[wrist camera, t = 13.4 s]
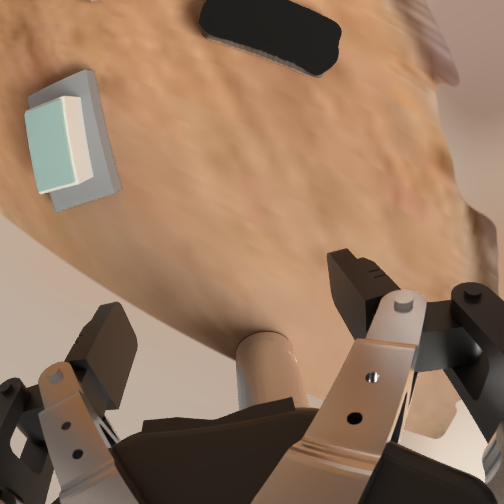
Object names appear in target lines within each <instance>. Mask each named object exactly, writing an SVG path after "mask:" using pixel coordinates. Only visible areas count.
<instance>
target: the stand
mask: <svg viewBox="0 0 504 504" xmlns="http://www.w3.org/2000/svg"><path fill="white" fill-rule="evenodd" d="M62 96H74V97H81V104H82V112H83V119H84V126H85V132H86V138H87V144H88V150H89V155H90V161H91V166H92V171H93V176H94V177H92V178H90V179H88V180H86V181H84V182H82V183H80V184H78V185H74V186H70V187H66V188H62V189H59V190H55V191H51V192H50V196H51V199H52V202H53V205H54V208H55V211H56V213H57V212H59V211H62V210H65V209H68V208H71V207H74V206H78V205H81V204H84V203H87V202H90V201H93V200H96V199H100V198H103V197H106V196H110V195H113V194H115V193H117V192H118V191H120V190H121V189H122V186H121V183H120V179H119V176H118V172H117V168H116V164H115V160H114V157H113V153H112V149H111V145H110V141H109V136H108V132H107V128H106V124H105V119H104V115H103V110H102V105H101V101H100V96H99V91H98V85H97V80H96V75H95V72H94V71H90V70H87V69H85V70H82V71H80V72H78V73H75V74H73V75H71V76H69V77H66V78H64V79H62V80H60V81H58V82H56V83H54V84H52V85H49V86H47V87H45V88H43V89H41V90H40V91H38V92H36V93H34V94H32V95H30V96H28V97H27V99H28V105H29V109H31V108H34V107H36V106H38V105H41V104H43V103H46V102H49V101H51V100H54V99H56V98H59V97H62Z"/></svg>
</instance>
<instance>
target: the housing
mask: <svg viewBox="0 0 504 504" xmlns="http://www.w3.org/2000/svg"><path fill="white" fill-rule="evenodd" d="M24 116H25V124H26V131H27V138H28V144H29V150H30V155H31V161H32V166H33V171H34V176H35V180H36V185H37V189H38V192H40V195H41V194H44V193H48V192H51V191H55V190H59V189H62V188H66V187H70V186H74V185H78V184H80V183H82V182H84V181H86V180H88V179H90V178H92V177H94V176H93V171H92V166H91V161H90V155H89V150H88V144H87V138H86V132H85V126H84V119H83V112H82V104H81V97H74V96H62V97H59V98H56V99H54V100H51V101H49V102H46V103H43V104H41V105H38V106H36V107H34V108H31V109H29V110H26V111H25V113H24Z"/></svg>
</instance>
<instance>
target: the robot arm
mask: <svg viewBox="0 0 504 504" xmlns="http://www.w3.org/2000/svg"><path fill="white" fill-rule="evenodd" d="M327 263H328V271H329V278H330V286H331V293H332V298H333V301H334V304H335V306H336V308H337V310H338V312H339V313H340V315H341V317H342V318H343V320H344V322H345V324H346V326H347V327H348V329H349V331H350V333H351V334H352V336H353V338H354V340H355V342H354V344H353V346H352V348H351V350H350V352H349V354H348V356H347V358H346V360H345V362H344V364H343V366H342V368H341V370H340V372H339V374H338V376H337V378H336V380H335V382H334V383H333V385H332V387H331V389H330V391H329V393H328V395H327V396H326V398H325V400H324V402H323V404H322V406H321V407H320V409H317V408H309V404H308V401H307V397H306V393H305V390H304V386H303V383H302V379H301V376H300V372H299V368H298V365H297V361H296V358H295V354H294V351H293V347H292V345H291V342H290V341H289V340H288V339H287V338H286V337H284V336H283V335H281V334H278V333H275V332H259V333H256V334H253V335H251V336H249V337H247V338H245V339H244V340H243V341H242V342H241V343H240V344H239V346H238V348H237V350H236V370H237V387H238V401H239V411H237V412H235V413H232V414H229V415H227V416H224V417H221V418H219V419H215V420H205V419H192V418H179V417H175V418H165V419H156V420H144V422H143V427H142V432H139V433H136V434H133V435H131V436H129V437H127V438H125V439H124V440H122V441H121V440H120V438H119V436H118V435H117V433H116V431H115V430H114V428H113V426H112V425H111V423H110V421H109V420H108V418H107V417H106V416H105V414H104V413H105V410H114V409H119V406H120V403H121V399H122V396H123V392H124V389H125V386H126V383H127V380H128V376H129V373H130V370H131V367H132V364H133V360H134V357H135V354H136V351H137V338H136V335H135V333H134V331H133V329H132V327H131V324H130V322H129V320H128V318H127V316H126V313H125V311H124V309H123V307H122V305H121V304H120V303H119V302H113V303H109V304H105V305H101V306H99V308H98V310H97V311H96V313H95V315H94V316H93V318H92V320H91V321H90V322H89V323H88V324H87V325H85V326H84V327H83V329H82V331H81V333H80V334H79V337H78V338H77V339H76V341H75V344H74V345H73V346H72V348H71V350H70V352H69V354H68V355H67V357H66V359H65V361H64V362H58V363H55V364H53V365H51V366H49V367H48V368H47V369H45V370H44V371H43V373H42V374H41V375H40V377H39V380H38V384H37V385H34V386H31V387H28V388H26V387H25V385H24V384H23V382H22V381H21V380H20V379H19V378H11V379H8V380H7V381H5V382H3V383H2V384H1V385H0V504H45V501H46V498H47V493H48V489H49V485H50V482H51V478H52V474H53V470H55V473H56V475H57V478H58V481H59V484H60V486H61V492H60V494H59V497H58V498H57V499H56V500H55V501H54V502H53V503H52V504H504V301H503V300H502V299H501V298H500V297H499V296H497V295H496V294H495V293H494V292H493V291H492V290H491V289H489V288H488V287H487V286H485V285H483V284H479V283H475V282H466V283H461V284H459V285H457V286H455V287H454V288H453V290H452V292H451V300H447V301H439V302H427V301H426V299H425V297H424V296H423V295H422V294H420V293H418V292H416V291H412V290H401V289H400V288H399V287H398V286H397V285H396V284H395V283H394V282H393V281H392V279H391V278H390V277H389V276H388V275H386V273H385V272H384V271H383V270H382V269H380V267H379V266H378V265H377V264H376V263H375V262H373V261H371V260H368V259H366V258H359V259H357V258H356V257H355V256H354V255H353V254H352V253H351V252H350V251H349V250H348V249H347V248H346V249H342V250H338V251H334V252H330V253H327ZM440 369H443V371H444V372H445V374H446V375H447V377H448V378H449V380H450V381H451V383H452V384H453V386H454V388H455V389H456V391H457V392H458V394H459V396H460V397H461V399H462V400H463V402H464V403H465V405H466V407H467V409H468V410H469V412H470V414H471V415H472V417H473V419H474V420H475V422H476V424H477V425H478V427H479V429H480V431H481V432H482V434H483V436H484V437H485V439H486V441H487V443H488V445H487V447H486V448H485V451H484V453H483V457H482V463H483V467H484V471H485V476H486V477H485V483H484V482H483V481H481V480H480V479H478V478H477V477H475V476H473V475H471V474H469V473H466V472H463V471H461V470H458V469H456V468H453V467H450V466H448V465H445V464H443V463H440V462H438V461H436V460H433V459H431V458H428V457H426V456H424V455H421V454H419V453H417V452H415V451H412V450H410V449H408V448H406V447H404V446H402V445H399V443H400V440H401V436H402V433H403V430H404V426H405V422H406V418H407V415H408V412H409V408H410V405H411V401H412V398H413V394H414V390H415V387H416V383H417V379H418V375H419V372H424V371H432V370H440ZM16 426H17V427H18V429H19V430H20V431H21V432H22V433H23V434H24V435H25V436H26V437H27V441H26V444H25V446H24V449H23V452H22V454H21V457H20V459H19V458H18V457H17V456H16V455H15V454H14V453H13V452H12V450H11V447H10V439H11V437H12V434H13V432H14V430H15V428H16Z"/></svg>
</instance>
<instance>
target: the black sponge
mask: <svg viewBox="0 0 504 504" xmlns="http://www.w3.org/2000/svg"><path fill="white" fill-rule="evenodd" d="M199 24H200V29H201V31H202V33H203V35H204V37H205V38H207V39H208V40H212V41H214V42H218V43H221V44H224V45H227V46H230V47H234V48H236V49H239V50H242V51H245V52H249V53H251V54H254V55H257V56H260V57H262V58H265V59H267V60H270V61H272V62H275V63H277V64H280V65H282V66H285V67H287V68H291V69H293V70H295V71H297V72H299V73H302V74H304V75H306V76H309V77H316V78H320V77H322V76H323V75H324V74H325V73H326V72H327V70H329V69H330V68H331V67H332V66H333V65H334V64H335V63H336V61H337V59H338V54H339V48H338V45H339V40H340V37H341V32H342V31H341V28H340V26H339V25H338V24H337V23H336V22H335V21H333V20H331V19H329V18H327V17H325V16H323V15H321V14H319V13H317V12H315V11H312V10H310V9H308V8H305V7H303V6H301V5H298V4H296V3H293V2H291V1H289V0H206V2H205V4H204V6H203V8H202V11H201V14H200V19H199Z"/></svg>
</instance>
